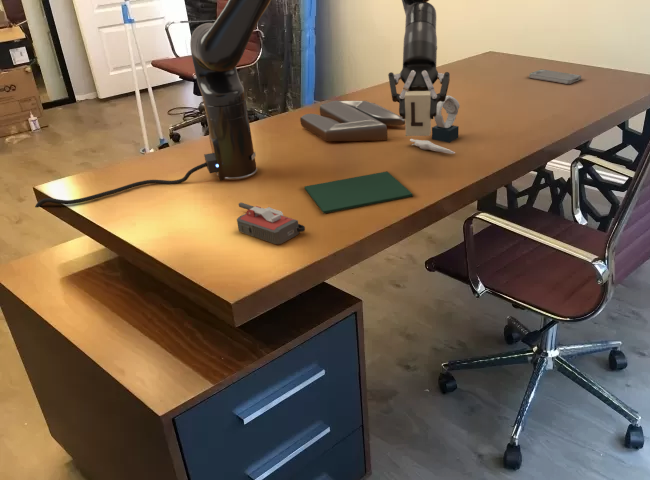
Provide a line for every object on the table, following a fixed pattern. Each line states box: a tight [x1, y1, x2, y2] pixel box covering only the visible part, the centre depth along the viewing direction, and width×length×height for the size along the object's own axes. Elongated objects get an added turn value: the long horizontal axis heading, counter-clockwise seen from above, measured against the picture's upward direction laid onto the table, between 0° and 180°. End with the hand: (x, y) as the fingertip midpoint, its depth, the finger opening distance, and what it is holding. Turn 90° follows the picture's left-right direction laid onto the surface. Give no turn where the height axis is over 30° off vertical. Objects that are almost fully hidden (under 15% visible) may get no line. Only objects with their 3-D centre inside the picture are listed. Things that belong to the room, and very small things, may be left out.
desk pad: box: [304, 171, 414, 215], centre depth 144 cm, size 20×15×1 cm
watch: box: [431, 95, 461, 143], centre depth 170 cm, size 6×8×11 cm
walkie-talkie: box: [236, 202, 306, 245], centre depth 129 cm, size 9×4×20 cm
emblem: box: [299, 100, 405, 142], centre depth 181 cm, size 28×5×28 cm
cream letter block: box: [404, 91, 432, 137], centre depth 144 cm, size 6×4×9 cm
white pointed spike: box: [409, 138, 456, 155], centre depth 164 cm, size 15×3×2 cm, turn 47°
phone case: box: [528, 69, 582, 85], centre depth 221 cm, size 8×16×1 cm, turn 47°
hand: (417, 117), depth 143 cm, fingers closed on cream letter block, 5 cm apart
